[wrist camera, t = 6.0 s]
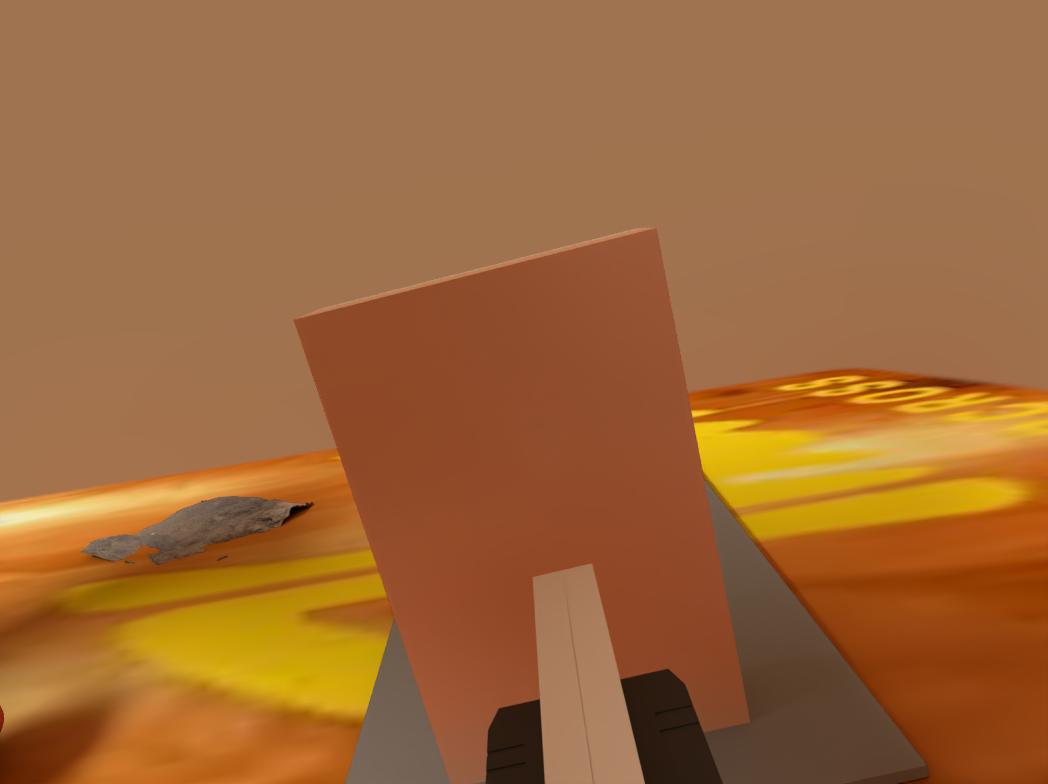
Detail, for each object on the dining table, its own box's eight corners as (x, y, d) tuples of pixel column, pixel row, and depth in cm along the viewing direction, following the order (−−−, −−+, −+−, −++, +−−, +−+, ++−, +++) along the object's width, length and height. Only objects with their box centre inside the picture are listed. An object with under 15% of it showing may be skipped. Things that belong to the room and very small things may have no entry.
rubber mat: (928, 776, 18) (927, 765, 18) (315, 909, 19) (310, 899, 19) (692, 468, 41) (691, 462, 41) (423, 532, 42) (421, 527, 42)
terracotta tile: (750, 722, 21) (656, 227, 17) (452, 788, 21) (293, 319, 17) (726, 672, 23) (638, 227, 19) (458, 733, 24) (319, 309, 20)
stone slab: (71, 553, 53) (175, 491, 61) (81, 571, 54) (183, 508, 62) (216, 564, 45) (314, 491, 53) (226, 586, 45) (321, 510, 53)
